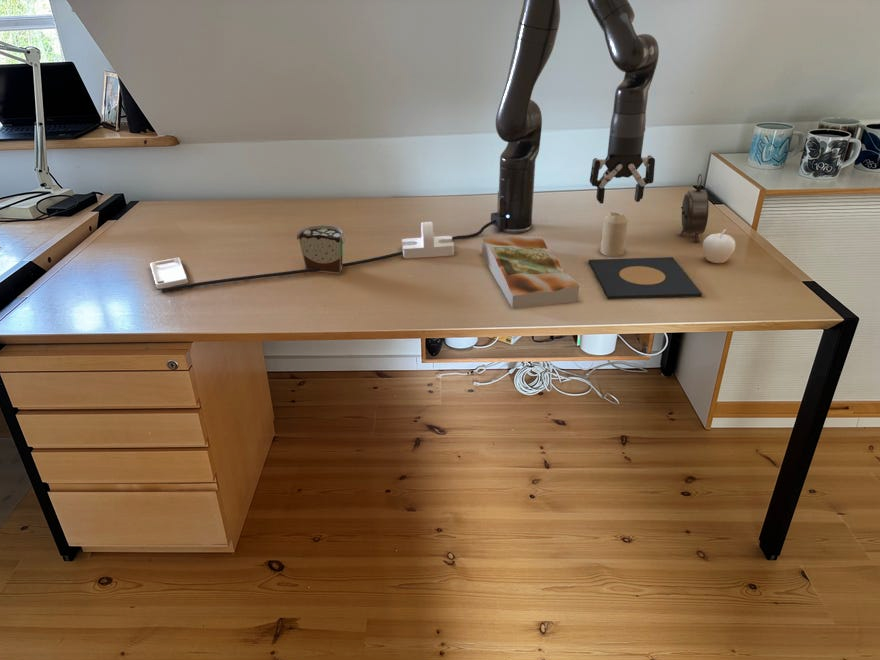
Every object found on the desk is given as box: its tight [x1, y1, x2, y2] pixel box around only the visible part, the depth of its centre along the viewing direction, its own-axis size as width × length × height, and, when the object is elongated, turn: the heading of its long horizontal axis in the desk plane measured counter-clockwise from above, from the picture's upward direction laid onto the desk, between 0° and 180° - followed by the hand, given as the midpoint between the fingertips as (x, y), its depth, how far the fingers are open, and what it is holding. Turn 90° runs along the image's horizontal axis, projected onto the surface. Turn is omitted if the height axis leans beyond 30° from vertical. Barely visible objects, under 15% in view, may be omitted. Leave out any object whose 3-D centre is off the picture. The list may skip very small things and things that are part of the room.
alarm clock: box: [679, 173, 710, 243], centre depth 170 cm, size 11×5×16 cm, turn 168°
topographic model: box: [481, 235, 580, 309], centre depth 156 cm, size 30×14×5 cm, turn 7°
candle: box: [600, 211, 629, 257], centre depth 165 cm, size 6×6×10 cm
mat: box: [588, 256, 703, 300], centre depth 153 cm, size 20×20×1 cm
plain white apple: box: [702, 228, 736, 264], centre depth 158 cm, size 7×7×8 cm
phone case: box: [149, 257, 189, 290], centre depth 167 cm, size 7×1×15 cm
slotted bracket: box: [401, 221, 455, 259], centre depth 171 cm, size 13×7×8 cm, turn 93°
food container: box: [296, 224, 346, 275], centre depth 165 cm, size 12×6×10 cm, turn 71°
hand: (618, 201), depth 160 cm, fingers open, 8 cm apart
